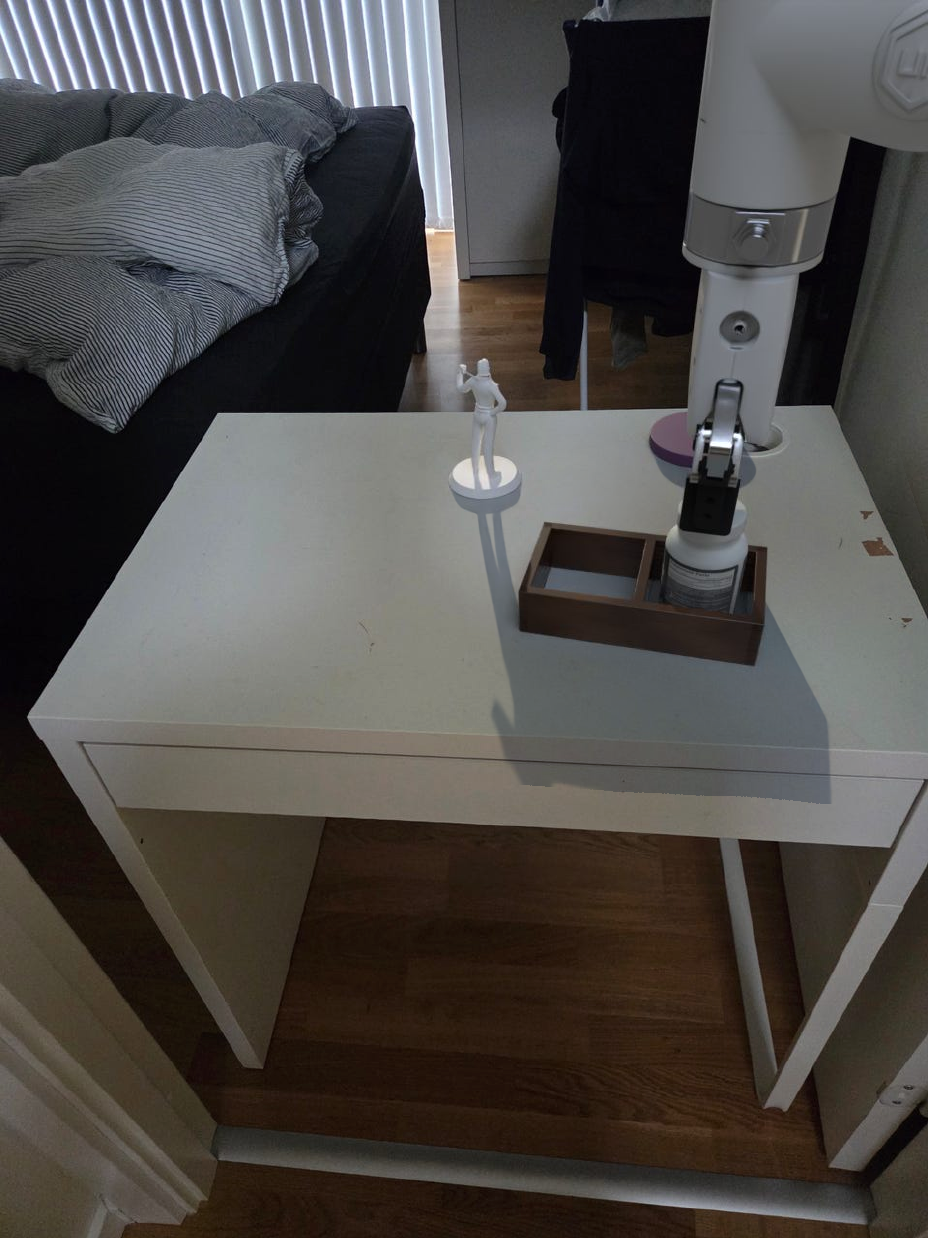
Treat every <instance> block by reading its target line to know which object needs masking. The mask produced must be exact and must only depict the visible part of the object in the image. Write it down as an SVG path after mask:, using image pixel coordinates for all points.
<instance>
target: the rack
mask: <svg viewBox="0 0 928 1238" xmlns="http://www.w3.org/2000/svg"><path fill="white" fill-rule="evenodd" d="M667 536H668V535H665V534H657V533H656V534H655V533H648V532H647V533H646V532H638V531H629V530H622V529H621V530H620V529H611V528H604V527H603V528H602V527H595V526H594V527H593V526H587V525H577V524H576V525H575V524H568V523H561V522H560V523H559V522H550V521H543V524H542V526H541V529H540V532H539V534H538V537H537V540H536V543H535V546H534V548H533V551H532V553H531V556H530V559H529V561H528V565H527V567H526V569H525V573H524V575H523V578H522V580H521V583H520V586H519V589H518V591H517V595H518V596H517V597H518V630H519V632H523V633H524V632H525V633H530V634H536V635H544V636H552V637H558V638H564V639H572V640H578V641H584V642H591V643H598V644H605V645H612V646H618V647H619V646H620V647H624V648H631V649H640V650H644V651H645V650H646V651H653V652H659V653H665V654H673V655H678V656H687V657H692V658H693V657H694V658H699V659H706V660H714V661H719V662H725V663H733V664H739V665H740V664H741V665H746V666H752V667H754V666H756V662H757V658H758V656H759V649H760V646H761V641H762V639H763V638H762V637H763V633H764V629H765V623H766V622H765V619H766V599H767V598H766V596H767V572H768V571H767V570H768V569H767V568H768V550H769V549H768V547H767V546H761V545H753V544H752V545H751V544H748V554H747V558H746V563H745V568H744V573H743V577H742V582H741V587H740V592H747V602H746V615H745V614H738V613H735V614H732V613H724V612H717V611H709V610H702V609H694V608H687V607H679V606H672V605H664V604H659V603H656V602H648V601H649V596H650V591H651V586H652V581H659V582H661V578H662V569H663V560H664V552H665V542H666V538H667ZM552 568H556V569H564V570H573V571H580V572H588V573H596V574H605V575H612V576H619V577H627V578H634V579H637V580H636V583H635V588H634V593H633V597H632V599H626V598H620V597H613V596H612V597H610V596H603V595H596V594H589V593H582V592H581V593H580V592H574V591H566V590H561V589H560V590H559V589H551V588H545V587H546V584H547V581H548V578H549V575H550V572H551V569H552Z"/></svg>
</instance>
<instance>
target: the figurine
mask: <svg viewBox="0 0 928 1238" xmlns="http://www.w3.org/2000/svg"><path fill="white" fill-rule="evenodd" d="M490 369H491V367H490V363H489V360H488V359H487V358H482V359H481V360H478V362H477V366H476V370H477V374H476V375H473V374H472V373H470V372H469V371H467V365H466V364H459V367H458V371H457V375H456V377H455V387H456V390H457V391H458V392H459V393H462V394H463V393H464V394H467V393H469V392H470V391H471V392H472V395H473V396H474V399H475V407H474V411H473V416H472V427H471V443H470V445H471V446H470V448H471V450H470V455H471V457H469V458H466V459H463V460H462V461H460V462H458V464H457V465H455V466H454V468H453V470H452V471H451V472H450V474H449V477H448V484H449V487H450V489H451V490H452V491H453V492H455V493H456V494H458V495H460V496H462V497H465V498H468V499H474V500H489V499H497V498H500V497H504V496H505V495H509V494H510V493H512V492H513V491H515V490H516V489H517V488H519V486H520V484H521V483H522V480H523V476H522V473H521V471H520V469H519V468H518V467H517V466H516V464H515V463H514V462H513V461H511V460H510V459H508V458H505V457H503V456H498V455H494V454H495V453H494V451H495V450H494V449H495V448H494V447H495V440H496V439H495V437H496V433H497V426H498V417H497V415H498V414H500V413H502V412H504V411H505V410H506V408H507V400H506V398H505V397H504V395H503V394H502V393H501V391H500V389H499V385H500V384H499V383H496V382H495V381H494V380H493V378H492V375H491V372H490ZM464 375H468V376H470V377H469V378H468V379H467V380H466V381H465V382H464ZM496 401H497V403H498V404H497V405H495V404H496ZM482 444H483V454H482V455H481V451H482Z"/></svg>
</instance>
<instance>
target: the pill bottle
mask: <svg viewBox="0 0 928 1238" xmlns="http://www.w3.org/2000/svg"><path fill="white" fill-rule="evenodd" d="M682 502H683V499H682V500H681V501H680V502H679V504H678V507H677V512H676V519H675V522H676V524H675V525H674V526H672V527H671V529H670V530H669V532H668V534H667V535H666V536H667V538H666V542H665V552H664V560H663V569H662V578H661V581H660V586H659V596H658V604H664V605H672V606H679V607H687V608H694V609H702V610H709V611H717V612H724V613H732V614H736V610H737V609H738V608H737V606H738V602H739V596H740V592H741V591H740V587H741V582H742V577H743V573H744V568H745V563H746V558H747V554H748V545H749V542H748V539H747V536H746V535H745V533H744V532H745V530H746V525H747V519H748V510H747V508H746V506H745V505H744V503H742V501H741V500H739V499H737V503H736V508H735V513H734V518H733V523H732V527H731V532H730V534H729V535H727V536H719V535H711V534H703V533H695V532H687V531H682V530H681V529H680V528H679V522H680V516H681V509H682Z"/></svg>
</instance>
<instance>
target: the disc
mask: <svg viewBox="0 0 928 1238" xmlns="http://www.w3.org/2000/svg"><path fill="white" fill-rule="evenodd" d="M687 412H688V411H679V412H675V413H671V414H667V415H664V416H663V417H660V418H659V419H658V420H655V422H654V423H653V424H652V426H651V427H650V429H649V437H648V438H649V440H648V443H649V448H650V450H651V451H652V452H653V453H654V454H655V455H656V456H657V457H659V458H660V459H662V460H664V461H665V462H668V463H671V464H672V465H673V464H674V465H678V466H681V467H687V468H692V464H693V458H694V451H693V449H692V447H693V440H694V439H693V438H692V437H690V435H689V434H688V433H687ZM703 456H708V454H706V453H703ZM703 456H702V458H703ZM730 458H732V456H730Z"/></svg>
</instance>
